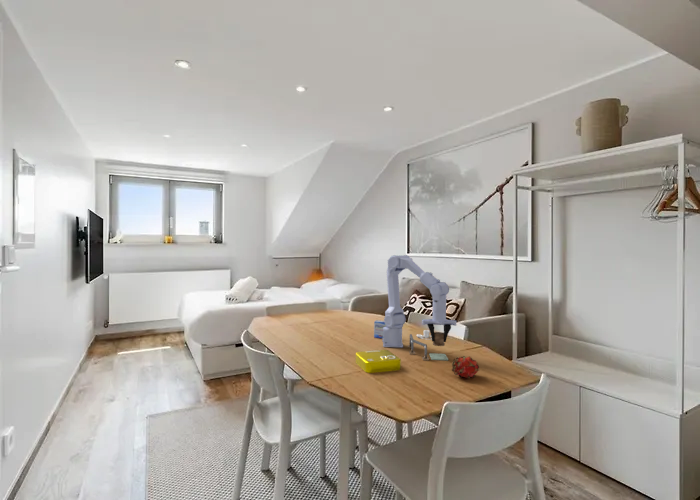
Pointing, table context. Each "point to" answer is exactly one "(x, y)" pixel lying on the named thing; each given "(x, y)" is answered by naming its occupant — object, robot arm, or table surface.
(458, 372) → the dragon fruit
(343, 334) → the table surface
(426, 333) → the teacup and saucer
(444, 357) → the pad
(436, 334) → the brown domed cylinder
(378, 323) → the medicine box
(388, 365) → the element tile
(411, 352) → the buzz wire
